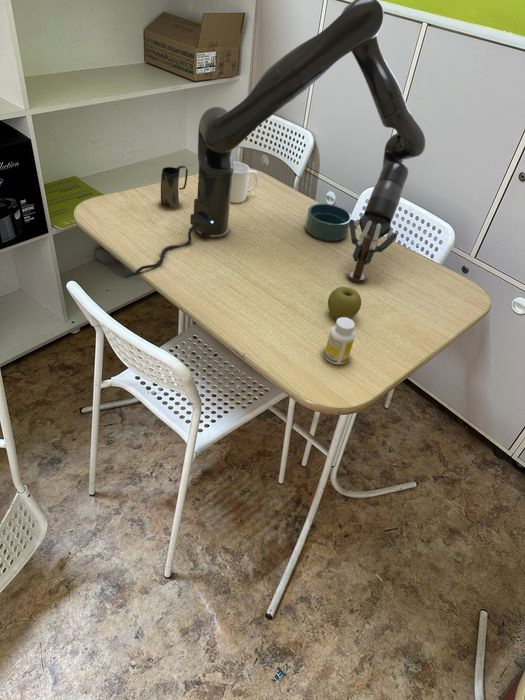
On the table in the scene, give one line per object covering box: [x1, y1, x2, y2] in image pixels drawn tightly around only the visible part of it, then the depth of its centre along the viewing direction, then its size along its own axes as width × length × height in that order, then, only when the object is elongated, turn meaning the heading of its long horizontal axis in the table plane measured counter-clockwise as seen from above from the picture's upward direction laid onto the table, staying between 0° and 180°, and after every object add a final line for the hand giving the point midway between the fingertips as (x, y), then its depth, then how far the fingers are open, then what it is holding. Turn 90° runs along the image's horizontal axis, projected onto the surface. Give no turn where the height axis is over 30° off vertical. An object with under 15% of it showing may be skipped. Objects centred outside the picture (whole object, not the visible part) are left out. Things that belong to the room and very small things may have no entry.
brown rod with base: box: [348, 235, 373, 284], centre depth 138 cm, size 4×4×13 cm
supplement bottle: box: [324, 317, 356, 365], centre depth 113 cm, size 5×5×10 cm
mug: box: [160, 165, 189, 211], centre depth 156 cm, size 8×6×12 cm
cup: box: [230, 161, 259, 204], centre depth 167 cm, size 8×12×10 cm
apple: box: [327, 286, 362, 320], centre depth 126 cm, size 8×8×7 cm
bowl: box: [304, 203, 352, 242], centre depth 158 cm, size 13×13×6 cm
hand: (360, 262), depth 137 cm, fingers closed on brown rod with base, 2 cm apart
